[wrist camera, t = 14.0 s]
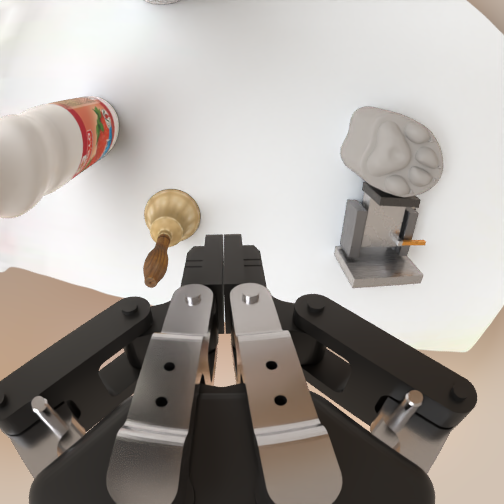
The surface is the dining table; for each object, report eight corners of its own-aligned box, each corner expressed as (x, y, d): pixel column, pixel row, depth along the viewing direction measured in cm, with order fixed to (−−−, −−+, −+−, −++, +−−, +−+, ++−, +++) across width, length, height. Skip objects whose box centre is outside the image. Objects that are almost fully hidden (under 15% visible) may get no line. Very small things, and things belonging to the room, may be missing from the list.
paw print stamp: (357, 98, 36) (386, 103, 29) (426, 132, 38) (461, 145, 31) (334, 165, 41) (357, 185, 34) (404, 190, 43) (433, 213, 36)
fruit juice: (85, 83, 32) (-79, 116, 8) (134, 119, 35) (-5, 191, 11) (53, 138, 35) (-92, 223, 11) (98, 172, 39) (-26, 293, 15)
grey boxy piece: (363, 182, 42) (381, 197, 37) (421, 187, 43) (442, 201, 37) (353, 237, 46) (368, 257, 41) (409, 237, 47) (426, 255, 42)
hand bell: (208, 200, 42) (199, 261, 29) (190, 248, 46) (176, 321, 32) (153, 181, 40) (117, 234, 26) (139, 230, 44) (105, 298, 30)
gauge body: (342, 199, 44) (366, 226, 36) (415, 203, 45) (445, 227, 37) (333, 254, 48) (352, 288, 41) (402, 252, 49) (427, 282, 42)
